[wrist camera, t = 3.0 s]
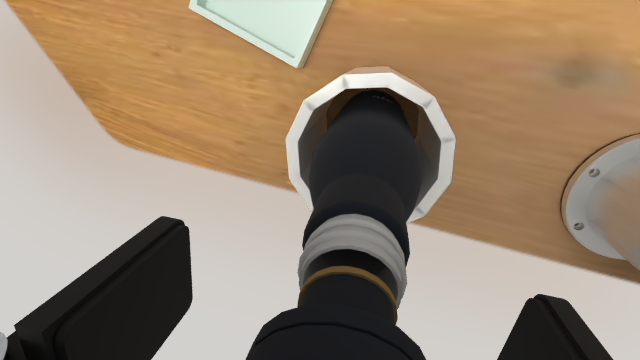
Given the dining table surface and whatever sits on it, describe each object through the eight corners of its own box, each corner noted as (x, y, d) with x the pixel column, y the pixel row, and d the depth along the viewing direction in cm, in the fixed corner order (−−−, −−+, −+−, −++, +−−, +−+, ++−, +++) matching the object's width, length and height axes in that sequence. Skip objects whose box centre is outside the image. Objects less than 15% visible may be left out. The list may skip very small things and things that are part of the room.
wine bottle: (350, 160, 33) (199, 684, 6) (331, 101, 31) (-41, 455, 4) (411, 144, 31) (635, 795, 4) (395, 80, 29) (617, 462, 2)
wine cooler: (450, 101, 29) (492, 129, 18) (388, 190, 33) (393, 256, 22) (350, 45, 29) (332, 39, 18) (302, 142, 33) (263, 185, 22)
